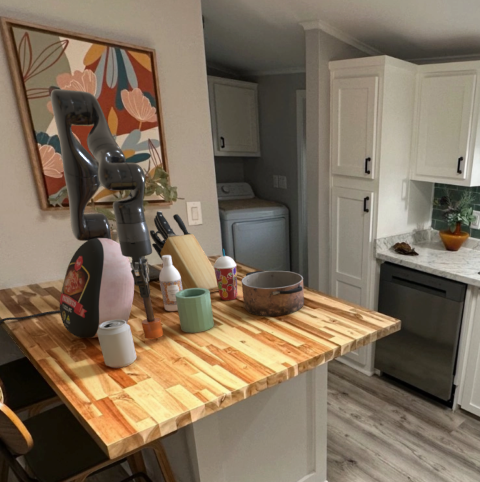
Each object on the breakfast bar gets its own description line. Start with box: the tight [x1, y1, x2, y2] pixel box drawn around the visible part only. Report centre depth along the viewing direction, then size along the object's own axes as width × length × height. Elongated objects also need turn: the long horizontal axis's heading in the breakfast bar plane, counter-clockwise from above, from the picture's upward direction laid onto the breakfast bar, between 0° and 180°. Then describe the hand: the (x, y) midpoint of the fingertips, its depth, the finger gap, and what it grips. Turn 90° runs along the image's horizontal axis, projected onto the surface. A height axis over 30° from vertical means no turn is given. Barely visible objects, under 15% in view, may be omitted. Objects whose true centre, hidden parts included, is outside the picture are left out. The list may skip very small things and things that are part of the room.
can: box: [97, 319, 137, 369], centre depth 111 cm, size 8×8×12 cm
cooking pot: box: [241, 270, 305, 317], centre depth 156 cm, size 30×22×11 cm
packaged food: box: [59, 238, 135, 339], centre depth 126 cm, size 22×20×30 cm
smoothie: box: [213, 248, 239, 301], centre depth 160 cm, size 8×8×20 cm
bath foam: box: [158, 255, 183, 312], centre depth 148 cm, size 7×7×20 cm
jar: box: [175, 288, 215, 333], centre depth 135 cm, size 10×10×12 cm
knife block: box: [149, 210, 219, 293], centre depth 170 cm, size 11×35×31 cm, turn 54°
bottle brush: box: [139, 280, 164, 340], centre depth 122 cm, size 5×5×18 cm
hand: (145, 295), depth 121 cm, fingers closed on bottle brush
